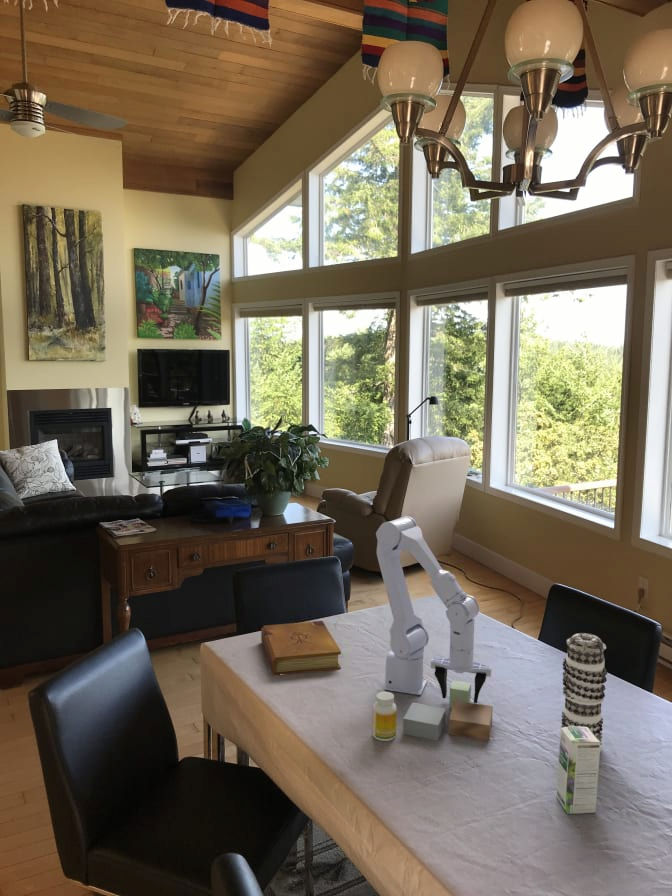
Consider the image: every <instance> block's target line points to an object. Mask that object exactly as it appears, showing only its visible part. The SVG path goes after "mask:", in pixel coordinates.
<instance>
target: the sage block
mask: <svg viewBox="0 0 672 896" xmlns="http://www.w3.org/2000/svg"><path fill="white" fill-rule="evenodd" d="M471 688H472V683H471V682H467V681H462V680H461V681H460V680H454V679H453V680H452V681H451V684H450V687H449V701H448V702H449V703H448V707H449V708H451V709H452V707H453V703H454V701H460V702H467V703H471V697H472V695H471V692H472V689H471Z"/></svg>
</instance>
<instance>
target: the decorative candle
mask: <svg viewBox="0 0 672 896" xmlns="http://www.w3.org/2000/svg"><path fill="white" fill-rule="evenodd" d="M566 644H567V653H566V657H565V658H562V659H563V661H562V670H563V672H562V675H563V676H562V677H563V678H562V685H563V688H562V690H563V691H562V693H563V696H564V704H563V711H562V712H561V727H560V729H561V728H563V727H571V726H581V727H588V728H589V729H590V730H591V731H592V733H593V734H594V735H595V736H596V738H597V739H598V740H599V741H600V753H601V751H602V747H601V746H602V744H603V743H602V739H603V736H602V735H603V733H602V731H603V723H604V718H603V717H602V713H603V711H602V703H603V702H604V701H605V700H604V699H605V697H606V695H605V692H604V691H605V690H606V686H605V683H606V682H607V681H608V679H607V677H606V676H607V675H608V671H607V669H606V668H605V650H606V649H607V645H606V644H605V643H604V642H603V641H602V639H601V638H600V637H599V636H597V635H596V634H595V635H594V634H592V633H585V632H579V633H575V634H573V635H571V637H569V638H567V639H566Z"/></svg>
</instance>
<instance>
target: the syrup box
mask: <svg viewBox="0 0 672 896" xmlns="http://www.w3.org/2000/svg"><path fill="white" fill-rule="evenodd" d="M559 737H560V738H559V751H558V762H557V763H558V767H557V782H556V799H558V801H559V802H560V804H561V806H562V808H563V810H564V811H565V812H566V813H567V815H575V814H592V813H593V814H594V813H596V811H597V799H598V784H599V771H600V770H599V769H600V754H601V752H600V746H601V745H600V741H599V740H598V739H597V738H596V736H595V735H594V734H593V733H592V731H591V730H590V729H589V728H588V727H581V726H571V727H563V728H561V727H560V736H559Z"/></svg>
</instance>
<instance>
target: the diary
mask: <svg viewBox="0 0 672 896" xmlns="http://www.w3.org/2000/svg"><path fill="white" fill-rule="evenodd" d="M260 632H261V633H260V634H261V635H260V636H261V637H260V638H261V644H262V647H263V649H264V652H265V655H266V658H267V660H268V663H269V667H270V670H271V673H272V675H273V676H274V675H278V676H281V675H280V674H288V675H294V674H293V673H297V674H305V672H307V673H316V672H325V671H334V670H341V668H342V667H341V664H340V663H339V655H342V650H341V649H340V647H339V646H338V644H337V642H336V640H335V639H334V638H333V636H332V634H331V632H330V631H329V629H328V628H327V626H326V624H325V623H324V621H323V620H316V621H315V620H313V621H304V622H292V623H280V624H270V625H269V624H267V625H263V626H262V627H261V630H260Z"/></svg>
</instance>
